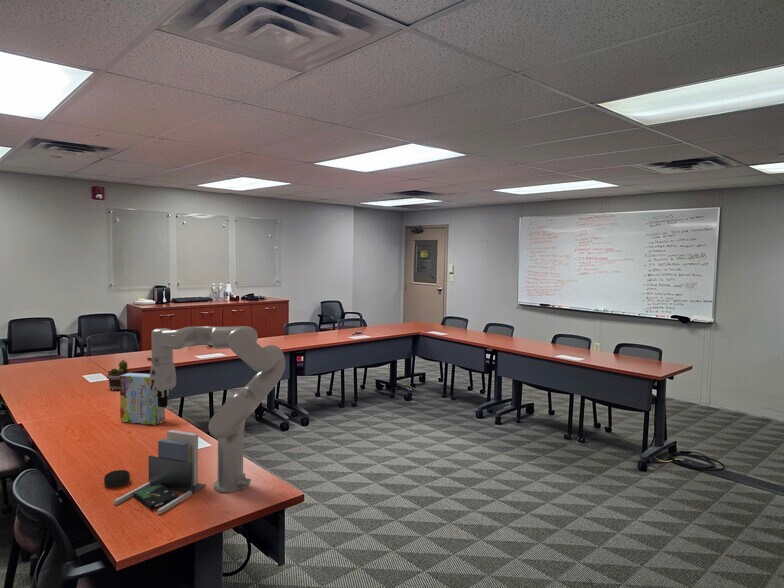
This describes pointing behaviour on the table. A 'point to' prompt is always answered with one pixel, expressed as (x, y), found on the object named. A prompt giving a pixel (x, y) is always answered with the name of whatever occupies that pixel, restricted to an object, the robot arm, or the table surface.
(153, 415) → the snack box
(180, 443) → the book row
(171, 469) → the bookend
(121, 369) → the flowerpot
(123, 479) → the smart speaker
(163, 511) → the rails
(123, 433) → the table surface
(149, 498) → the disk drive
